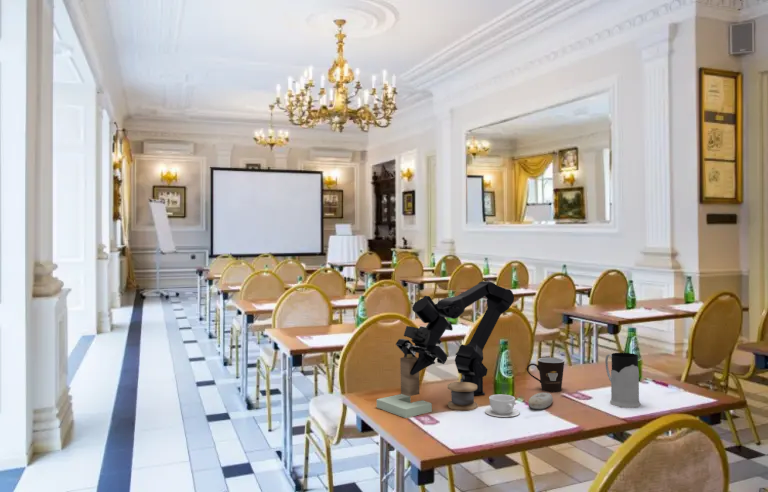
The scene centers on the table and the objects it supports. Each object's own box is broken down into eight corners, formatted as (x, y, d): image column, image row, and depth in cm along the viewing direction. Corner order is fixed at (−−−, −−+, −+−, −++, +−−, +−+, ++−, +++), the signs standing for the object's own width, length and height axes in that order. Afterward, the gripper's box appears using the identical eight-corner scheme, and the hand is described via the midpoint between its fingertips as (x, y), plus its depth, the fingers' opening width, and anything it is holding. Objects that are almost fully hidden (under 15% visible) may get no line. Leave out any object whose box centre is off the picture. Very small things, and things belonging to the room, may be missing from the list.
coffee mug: (567, 388, 198) (567, 359, 198) (560, 394, 191) (560, 363, 191) (534, 384, 205) (533, 355, 204) (525, 390, 197) (525, 360, 197)
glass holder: (620, 408, 174) (620, 358, 174) (594, 396, 188) (593, 349, 188) (647, 406, 176) (646, 356, 176) (618, 394, 190) (618, 348, 190)
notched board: (402, 401, 185) (402, 393, 185) (431, 411, 174) (431, 403, 174) (376, 407, 179) (376, 399, 179) (405, 418, 168) (405, 409, 168)
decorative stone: (558, 400, 184) (558, 390, 184) (544, 413, 171) (544, 401, 171) (538, 398, 188) (538, 387, 187) (523, 410, 174) (523, 399, 174)
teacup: (478, 411, 174) (478, 395, 174) (507, 407, 178) (507, 391, 178) (497, 420, 165) (496, 403, 165) (526, 416, 169) (526, 399, 169)
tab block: (411, 391, 181) (410, 352, 180) (419, 394, 177) (418, 354, 177) (400, 393, 178) (400, 354, 178) (409, 396, 175) (408, 356, 175)
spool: (471, 401, 184) (471, 381, 184) (481, 409, 175) (481, 388, 175) (444, 403, 182) (444, 382, 182) (452, 411, 174) (452, 389, 173)
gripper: (399, 313, 187) (372, 352, 181) (439, 319, 173) (411, 361, 166) (418, 335, 192) (393, 373, 186) (459, 342, 177) (432, 384, 171)
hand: (406, 373), depth 177 cm, fingers closed on tab block, 4 cm apart
